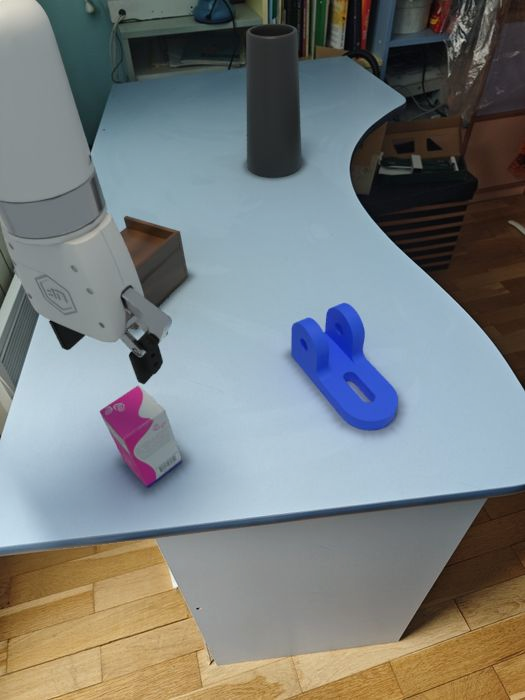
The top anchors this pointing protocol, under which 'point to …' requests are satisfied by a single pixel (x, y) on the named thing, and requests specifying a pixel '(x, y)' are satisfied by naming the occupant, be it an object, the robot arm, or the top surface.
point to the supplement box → (142, 435)
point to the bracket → (344, 367)
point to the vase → (273, 100)
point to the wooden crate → (155, 259)
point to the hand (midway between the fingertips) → (112, 356)
